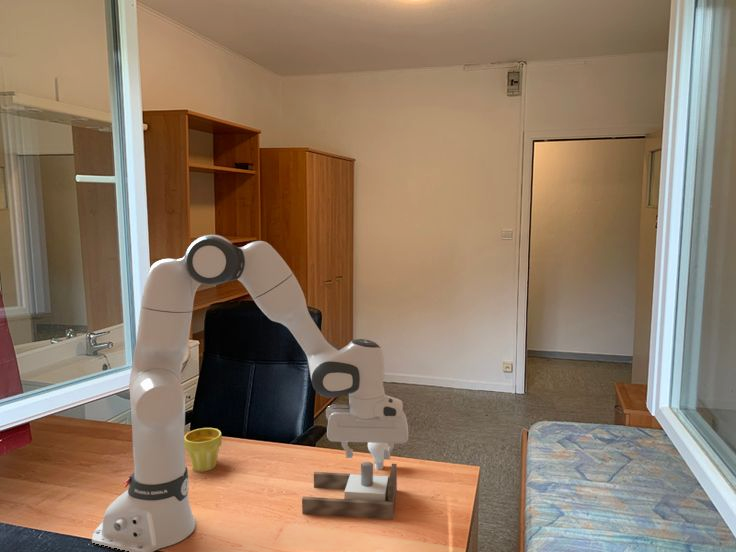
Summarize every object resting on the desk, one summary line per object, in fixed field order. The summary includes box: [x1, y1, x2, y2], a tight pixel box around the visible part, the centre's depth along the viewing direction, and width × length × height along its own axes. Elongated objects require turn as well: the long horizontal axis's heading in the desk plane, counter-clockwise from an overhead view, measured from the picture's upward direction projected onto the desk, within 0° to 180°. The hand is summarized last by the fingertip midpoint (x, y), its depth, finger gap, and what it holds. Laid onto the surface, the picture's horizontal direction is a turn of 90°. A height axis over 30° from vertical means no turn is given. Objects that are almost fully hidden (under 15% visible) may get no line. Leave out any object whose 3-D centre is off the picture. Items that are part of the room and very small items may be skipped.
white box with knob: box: [344, 461, 389, 502], centre depth 138 cm, size 10×9×10 cm
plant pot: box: [184, 427, 223, 472], centre depth 160 cm, size 10×10×10 cm
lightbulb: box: [367, 442, 389, 471], centre depth 156 cm, size 6×6×11 cm
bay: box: [301, 463, 398, 521], centre depth 138 cm, size 22×14×9 cm, turn 83°
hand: (368, 457), depth 137 cm, fingers open, 8 cm apart
